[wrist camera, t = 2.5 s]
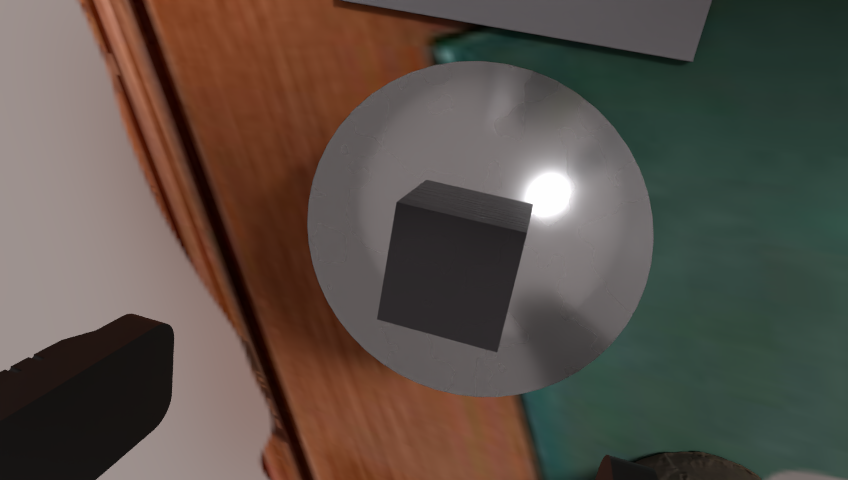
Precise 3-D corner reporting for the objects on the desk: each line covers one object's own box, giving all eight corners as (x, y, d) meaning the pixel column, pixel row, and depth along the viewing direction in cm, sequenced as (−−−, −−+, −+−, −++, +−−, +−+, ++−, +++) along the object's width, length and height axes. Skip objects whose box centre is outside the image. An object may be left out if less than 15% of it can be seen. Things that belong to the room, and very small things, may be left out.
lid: (338, 32, 21) (274, 19, 16) (699, 100, 19) (746, 107, 14) (302, 337, 25) (242, 396, 20) (594, 421, 23) (602, 510, 18)
